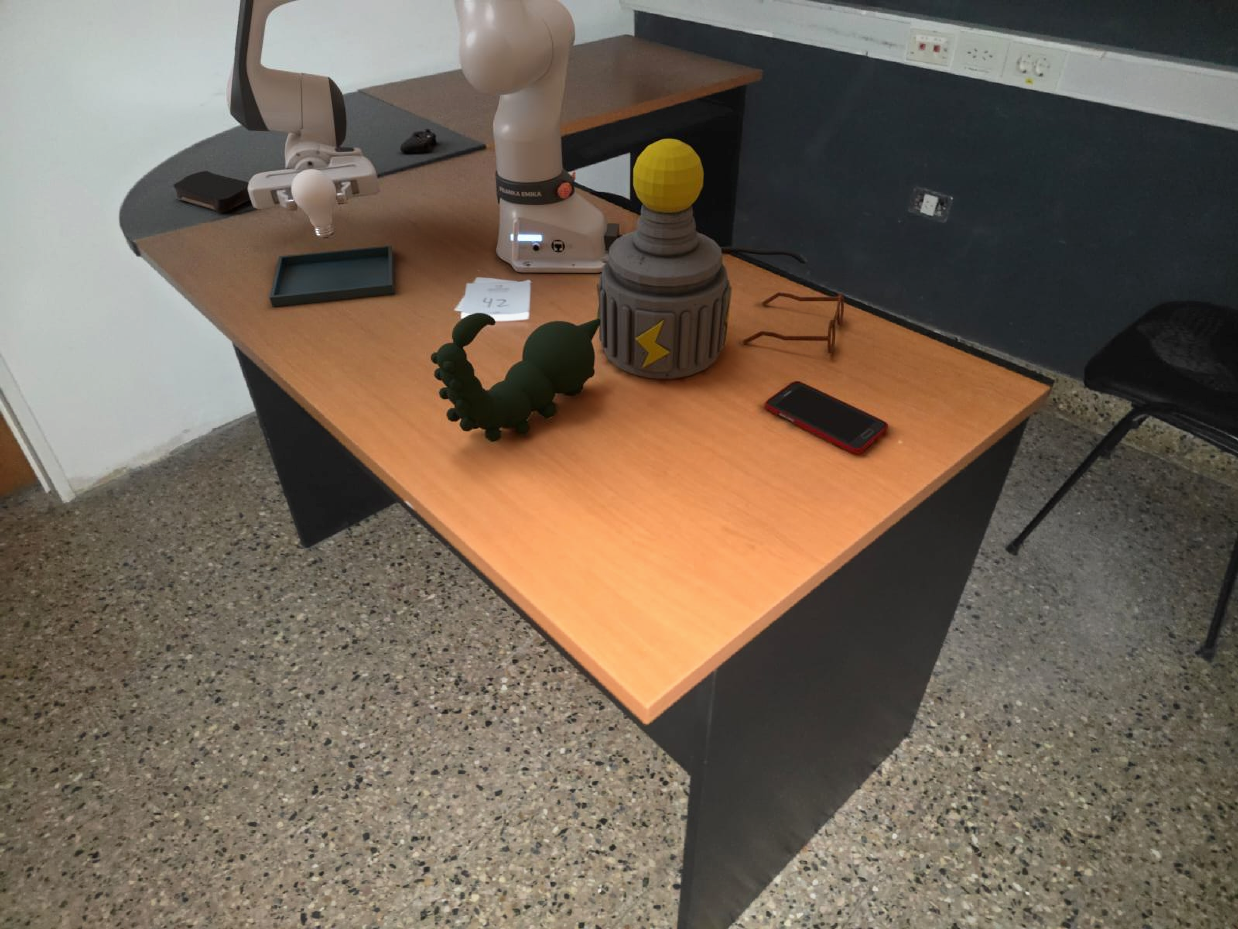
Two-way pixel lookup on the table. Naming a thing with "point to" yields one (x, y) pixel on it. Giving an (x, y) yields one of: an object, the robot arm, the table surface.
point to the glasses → (837, 317)
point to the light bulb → (315, 199)
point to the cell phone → (827, 417)
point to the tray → (333, 276)
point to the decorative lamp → (664, 275)
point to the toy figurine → (515, 375)
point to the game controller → (419, 142)
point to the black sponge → (212, 191)
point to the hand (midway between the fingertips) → (317, 202)
